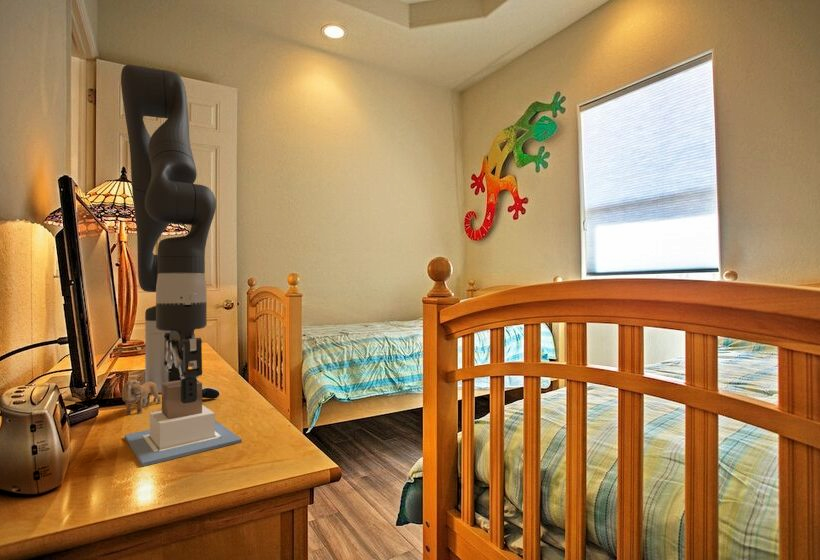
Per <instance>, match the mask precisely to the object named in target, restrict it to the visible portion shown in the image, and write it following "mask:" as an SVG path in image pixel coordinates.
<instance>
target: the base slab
mask: <svg viewBox="0 0 820 560" xmlns="http://www.w3.org/2000/svg"><path fill="white" fill-rule="evenodd" d="M215 415H216V413H215V412H214V411H212V410H211V409H210V408H208V407H207V406H205V405H204V404H202V413H200V414H194V415H189V416H184V417H178V418H173V419H168V418H167V417H166V416H165V415H164V414H163V413H162V409H161V410H155V411H150V412H149V430H150V437H151V439H152V440H153V441H154V442H155V444H156V445H157V446H158V448H159V449H160V450H161V449H166V448H170V447H174V446H179V445H183V444H187V443H192V442H196V441H200V440H205V439H209V438H214V437H215V420H216V419H215V418H216V416H215Z"/></svg>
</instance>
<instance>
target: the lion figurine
mask: <svg viewBox="0 0 820 560" xmlns="http://www.w3.org/2000/svg"><path fill="white" fill-rule="evenodd" d="M149 394H151V396H153V400H152V401H153V402H156V403H155V405H160V404H161V405H162V397H161V396H160V395H159V394H160V393H158V390H157V386H156V384H155V383H153V382H146V383H145V382H144V383H142V384H141V381H139V380H137V379H131V380H128V381H126V382H125V383H124V384H123V386H122V390H121V397H122V398H121V399H122V401H123V402H124V404H125V408H126V412H125V413H124V415H125V416H130V415H131V414H132V405H135V404H137V408H136V415H141V414H143V408H144V407H146V405H147V403H148V396H149Z"/></svg>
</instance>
